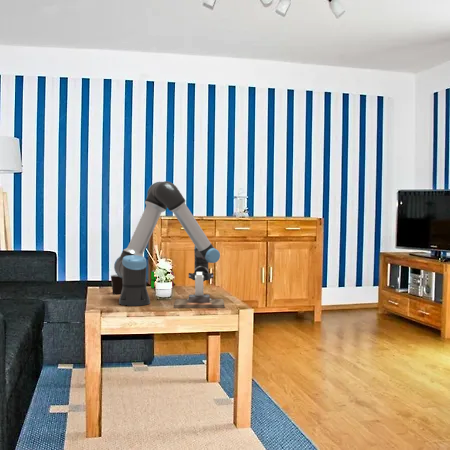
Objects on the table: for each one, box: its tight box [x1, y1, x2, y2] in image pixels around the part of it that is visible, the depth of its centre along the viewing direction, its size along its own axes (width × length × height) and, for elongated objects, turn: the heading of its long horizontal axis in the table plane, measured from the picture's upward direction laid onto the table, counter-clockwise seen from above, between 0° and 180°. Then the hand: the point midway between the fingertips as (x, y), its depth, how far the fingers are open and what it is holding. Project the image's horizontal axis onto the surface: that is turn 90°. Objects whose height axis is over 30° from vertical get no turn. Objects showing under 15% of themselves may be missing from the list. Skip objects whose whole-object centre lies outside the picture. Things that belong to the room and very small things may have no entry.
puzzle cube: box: [150, 270, 174, 289], centre depth 367 cm, size 10×10×10 cm
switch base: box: [173, 294, 225, 309], centre depth 308 cm, size 24×18×4 cm
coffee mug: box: [110, 274, 123, 295], centre depth 347 cm, size 12×9×10 cm
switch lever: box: [194, 272, 204, 296], centre depth 304 cm, size 4×3×13 cm, turn 92°
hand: (200, 279), depth 306 cm, fingers closed
